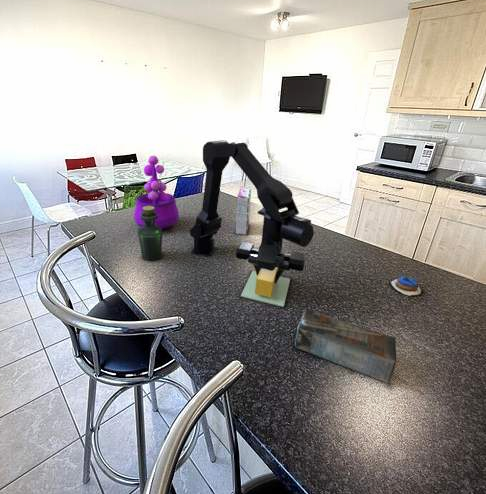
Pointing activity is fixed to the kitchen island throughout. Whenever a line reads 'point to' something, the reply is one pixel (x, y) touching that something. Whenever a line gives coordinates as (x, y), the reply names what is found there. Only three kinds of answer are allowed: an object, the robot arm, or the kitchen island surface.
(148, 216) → the potion bottle
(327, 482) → the kitchen island surface
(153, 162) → the decorative plant
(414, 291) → the dessert
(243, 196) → the candy bar box
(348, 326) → the beverage carton
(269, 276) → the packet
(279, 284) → the mat
